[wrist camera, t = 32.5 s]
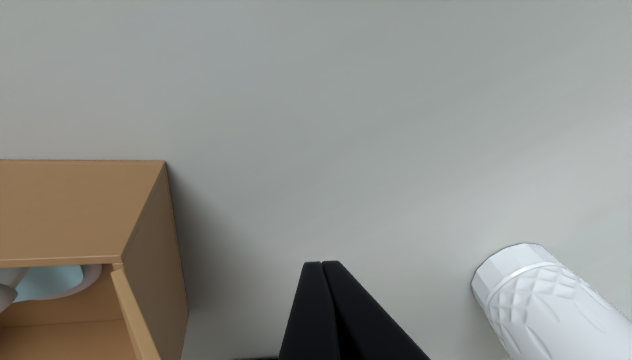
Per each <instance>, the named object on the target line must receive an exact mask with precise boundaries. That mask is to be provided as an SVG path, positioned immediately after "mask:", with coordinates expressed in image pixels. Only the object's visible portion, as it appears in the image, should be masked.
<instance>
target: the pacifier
mask: <svg viewBox="0 0 632 360" xmlns="http://www.w3.org/2000/svg"><path fill="white" fill-rule="evenodd" d="M101 272H102V264H86V265H62V266H39V267H15V268H0V313H1V312H2V311H3V310H5V309H6V308H7V307H8V306H9V305H10V304H12V303H14V302H20V301H25V300H49V299H56V298H61V297H66V296H69V295H72V294H75V293H78V292H80V291H82V290H84V289H86V288H87V287H89V286H90V285H91V284H93V283H94V282H95V281H96V280H97V279H98V277H99V276H100V274H101Z"/></svg>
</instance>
